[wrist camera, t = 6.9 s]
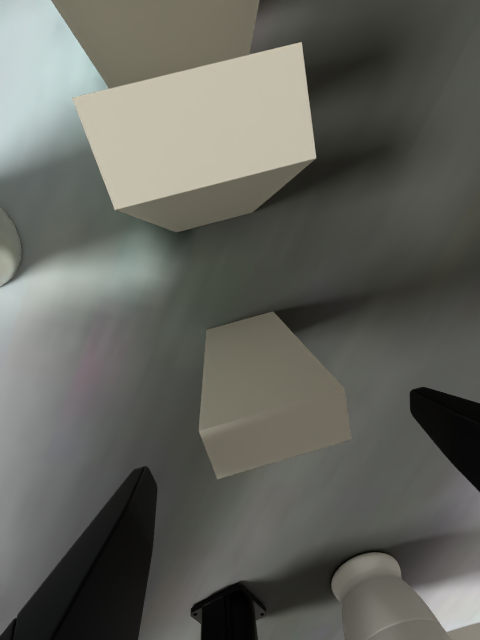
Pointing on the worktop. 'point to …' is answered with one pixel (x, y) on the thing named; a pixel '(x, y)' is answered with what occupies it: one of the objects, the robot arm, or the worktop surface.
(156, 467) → the worktop surface
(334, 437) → the domino
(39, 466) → the worktop surface
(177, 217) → the domino
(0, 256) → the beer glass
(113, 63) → the domino
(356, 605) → the jar
